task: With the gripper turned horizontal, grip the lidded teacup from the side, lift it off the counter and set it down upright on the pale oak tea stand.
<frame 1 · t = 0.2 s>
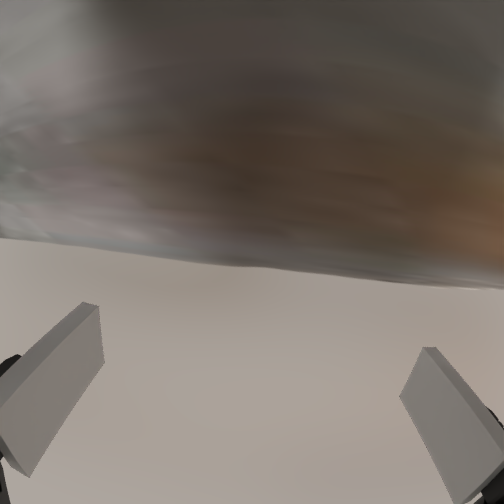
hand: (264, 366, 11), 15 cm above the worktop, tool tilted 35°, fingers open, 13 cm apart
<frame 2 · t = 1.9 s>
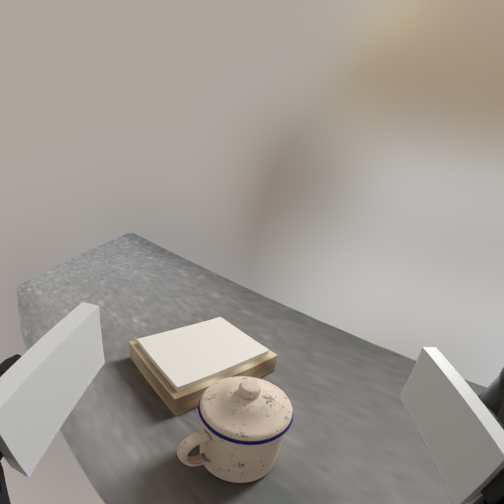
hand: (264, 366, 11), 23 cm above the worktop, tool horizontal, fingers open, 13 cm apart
oak tea stand: (201, 366, 43), on the worktop
teacup with lid: (227, 460, 27), on the worktop
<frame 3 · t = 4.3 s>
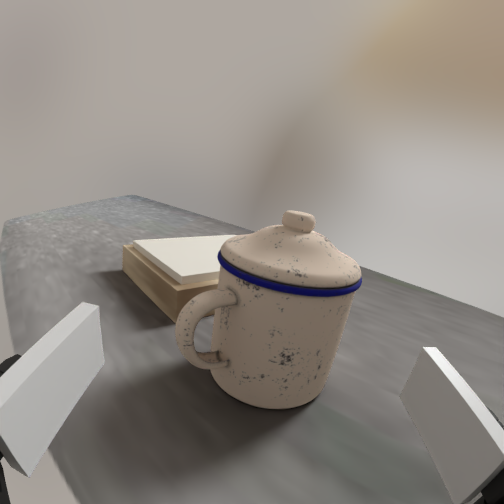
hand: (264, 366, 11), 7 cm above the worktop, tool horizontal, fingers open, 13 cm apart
oak tea stand: (211, 281, 36), on the worktop
teacup with lid: (252, 379, 20), on the worktop
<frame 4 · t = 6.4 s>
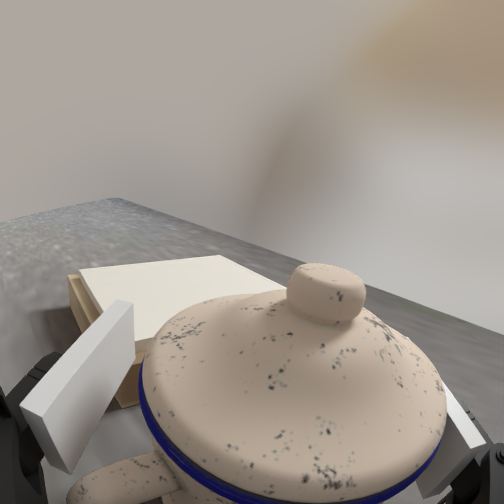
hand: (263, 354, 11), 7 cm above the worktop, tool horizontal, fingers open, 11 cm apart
oak tea stand: (184, 325, 25), on the worktop
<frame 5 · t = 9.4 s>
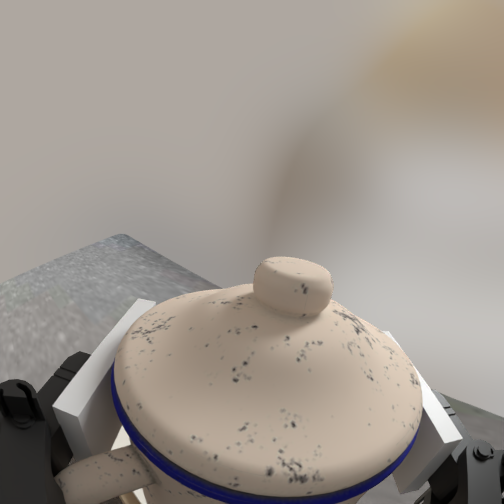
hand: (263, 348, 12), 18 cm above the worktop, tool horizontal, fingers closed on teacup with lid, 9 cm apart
oak tea stand: (213, 470, 21), on the worktop
when the fingers open (12 cm above the worktop, at t = 11.9 s): teacup with lid drops 1 cm, resting on oak tea stand.
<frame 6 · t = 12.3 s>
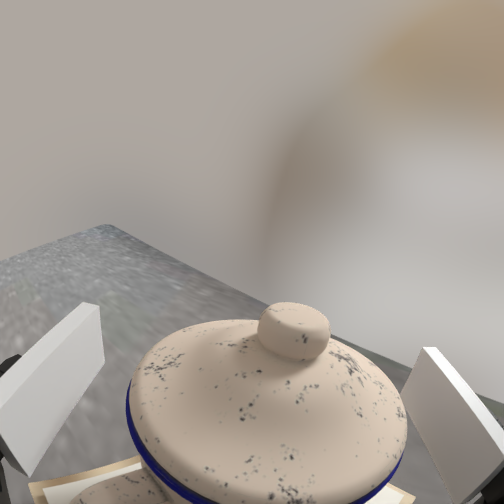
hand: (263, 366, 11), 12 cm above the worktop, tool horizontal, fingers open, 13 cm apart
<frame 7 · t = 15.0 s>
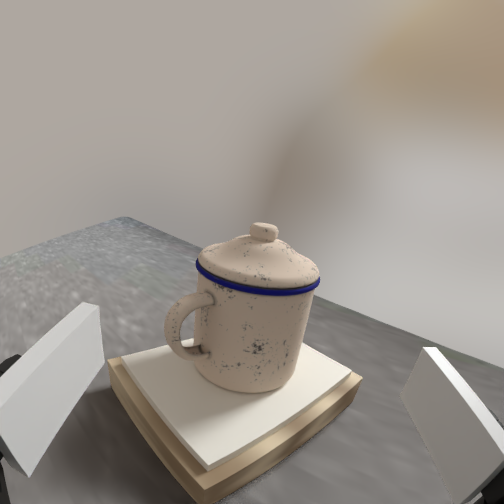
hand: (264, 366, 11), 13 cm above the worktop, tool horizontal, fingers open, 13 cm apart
oak tea stand: (236, 403, 24), on the worktop
teacup with lid: (230, 369, 23), point 4 cm above the worktop, touching oak tea stand
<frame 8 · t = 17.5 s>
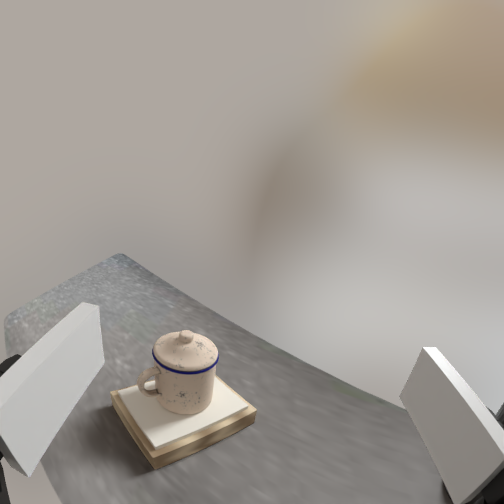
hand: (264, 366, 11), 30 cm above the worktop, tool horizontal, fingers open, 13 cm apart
oak tea stand: (181, 417, 40), on the worktop
teacup with lid: (175, 399, 39), point 4 cm above the worktop, touching oak tea stand
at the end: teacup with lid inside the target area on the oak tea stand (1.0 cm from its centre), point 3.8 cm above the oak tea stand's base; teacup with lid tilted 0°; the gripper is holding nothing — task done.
